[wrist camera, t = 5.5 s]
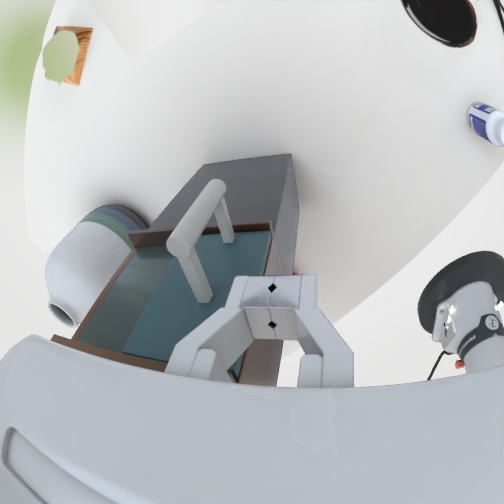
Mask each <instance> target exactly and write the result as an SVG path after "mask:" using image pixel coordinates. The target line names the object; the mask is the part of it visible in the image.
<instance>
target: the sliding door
mask: <svg viewBox="0 0 504 504" xmlns="http://www.w3.org/2000/svg"><path fill="white" fill-rule="evenodd" d="M225 193H226V185H225V183H224V182H223V181H222V180H219V179H212V180H211V181H209V183H208V184H207V185H206V187H205V188H204V189H203V191H202V192H201V193H200V195H199V196H198V197H197V199H196V200H195V201H194V203H193V204H192V206H191V207H190V208H189V210H188V211H187V213H186V214H185V215H184V217H183V218H182V220H181V221H180V222H179V224H178V225H177V227H176V228H175V229H174V231H173V232H172V234H171V235H170V237H169V238H168V240H167V242H166V246H167V249H168V251H169V252H170V253H171V254H172V255H173V256H175V257H174V258H173V260H172V262H171V263H170V265H169V267H168V269H167V270H166V272H165V274H164V275H163V277H162V279H161V281H160V282H159V284H158V286H157V288H156V289H155V291H154V293H153V295H152V296H151V298H150V300H149V302H148V303H147V305H146V307H145V309H144V311H143V313H142V314H141V316H140V318H139V320H138V322H137V324H136V326H135V327H134V329H133V331H132V333H131V335H130V337H129V339H128V341H127V343H126V345H125V347H124V349H123V350H122V353H123V354H127V355H132V356H136V357H141V358H146V359H151V360H156V361H161V362H167V363H168V362H169V360H170V357H171V355H172V352H173V350H174V348H175V345H176V344H177V343H178V342H179V341H181V340H182V339H183V338H184V337H186V336H187V335H188V334H189V333H191V332H192V331H193V330H194V329H195V328H197V327H198V326H199V325H200V324H202V323H203V322H204V321H205V320H206V319H208V318H209V317H210V316H211V315H213V314H214V313H215V312H216V311H217V310H219V309H220V308H225V305H226V302H227V299H228V296H229V293H230V290H231V287H232V284H233V281H234V278H235V277H236V276H250V275H260V276H263V273H264V268H265V264H266V260H267V255H268V251H269V247H270V242H271V234H270V231H256V232H239V233H234V231H233V227H232V224H231V220H230V216H229V213H228V209H227V206H226V202H225V198H224V194H225ZM213 213H215V217H216V220H217V223H218V226H219V230H220V233H221V234H208V235H201V234H202V232H203V230H204V229H205V227H206V225H207V223H208V222H209V220H210V218H211V216H212V215H213ZM243 355H244V352H243V353H242V354H241V356H240V357H239V358H238V359H237V360H236V361H235V362H234V363H233V364H232V365H231V367H230V368H229V369H228V370H227V371H230V372H231V374H232V376H233V377H238V375H239V371H240V367H241V363H242V359H243Z"/></svg>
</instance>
